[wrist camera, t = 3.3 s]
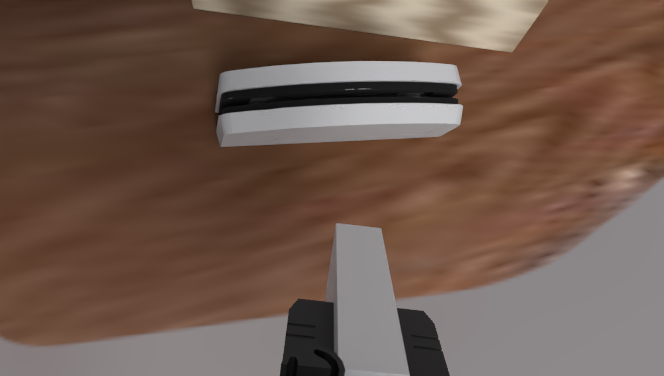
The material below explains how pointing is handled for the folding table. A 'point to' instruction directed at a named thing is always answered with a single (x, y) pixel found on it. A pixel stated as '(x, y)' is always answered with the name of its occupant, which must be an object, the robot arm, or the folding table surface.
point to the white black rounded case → (336, 102)
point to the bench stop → (402, 17)
